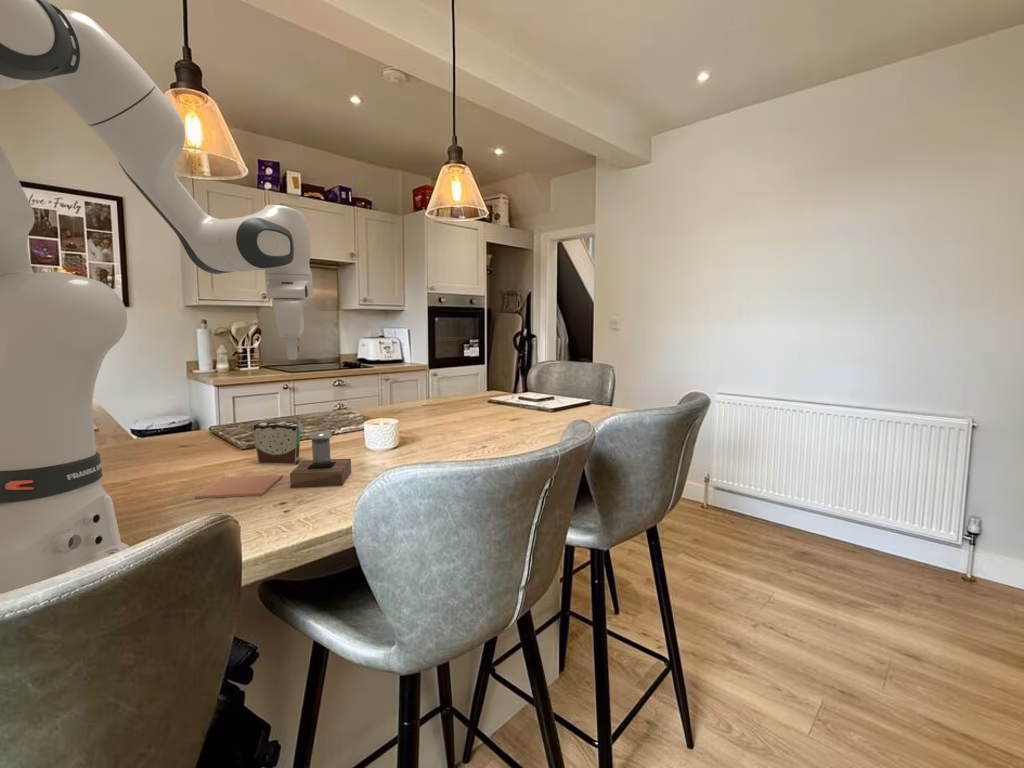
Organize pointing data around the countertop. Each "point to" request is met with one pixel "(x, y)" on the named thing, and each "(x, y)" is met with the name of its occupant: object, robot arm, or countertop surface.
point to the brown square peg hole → (320, 474)
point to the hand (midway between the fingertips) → (294, 356)
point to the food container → (277, 441)
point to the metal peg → (321, 449)
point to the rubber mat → (240, 486)
